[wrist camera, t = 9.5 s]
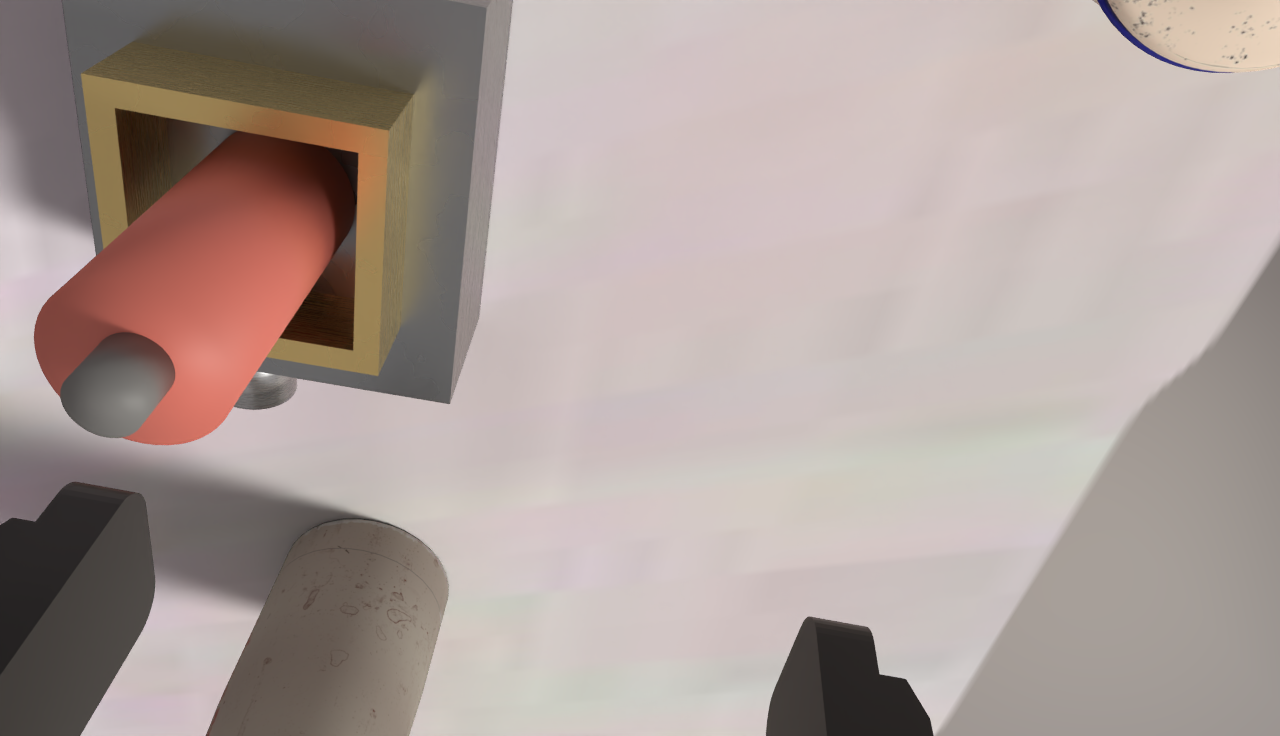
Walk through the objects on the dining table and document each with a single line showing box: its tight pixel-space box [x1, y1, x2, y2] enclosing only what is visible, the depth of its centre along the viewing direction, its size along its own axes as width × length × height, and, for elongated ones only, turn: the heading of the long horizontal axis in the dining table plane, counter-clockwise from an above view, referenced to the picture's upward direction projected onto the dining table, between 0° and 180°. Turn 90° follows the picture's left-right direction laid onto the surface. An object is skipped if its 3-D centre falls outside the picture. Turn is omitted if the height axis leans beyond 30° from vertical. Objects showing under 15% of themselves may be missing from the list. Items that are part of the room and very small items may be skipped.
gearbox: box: [62, 0, 513, 410], centre depth 34 cm, size 17×12×9 cm
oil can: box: [34, 131, 355, 445], centre depth 27 cm, size 5×5×12 cm
